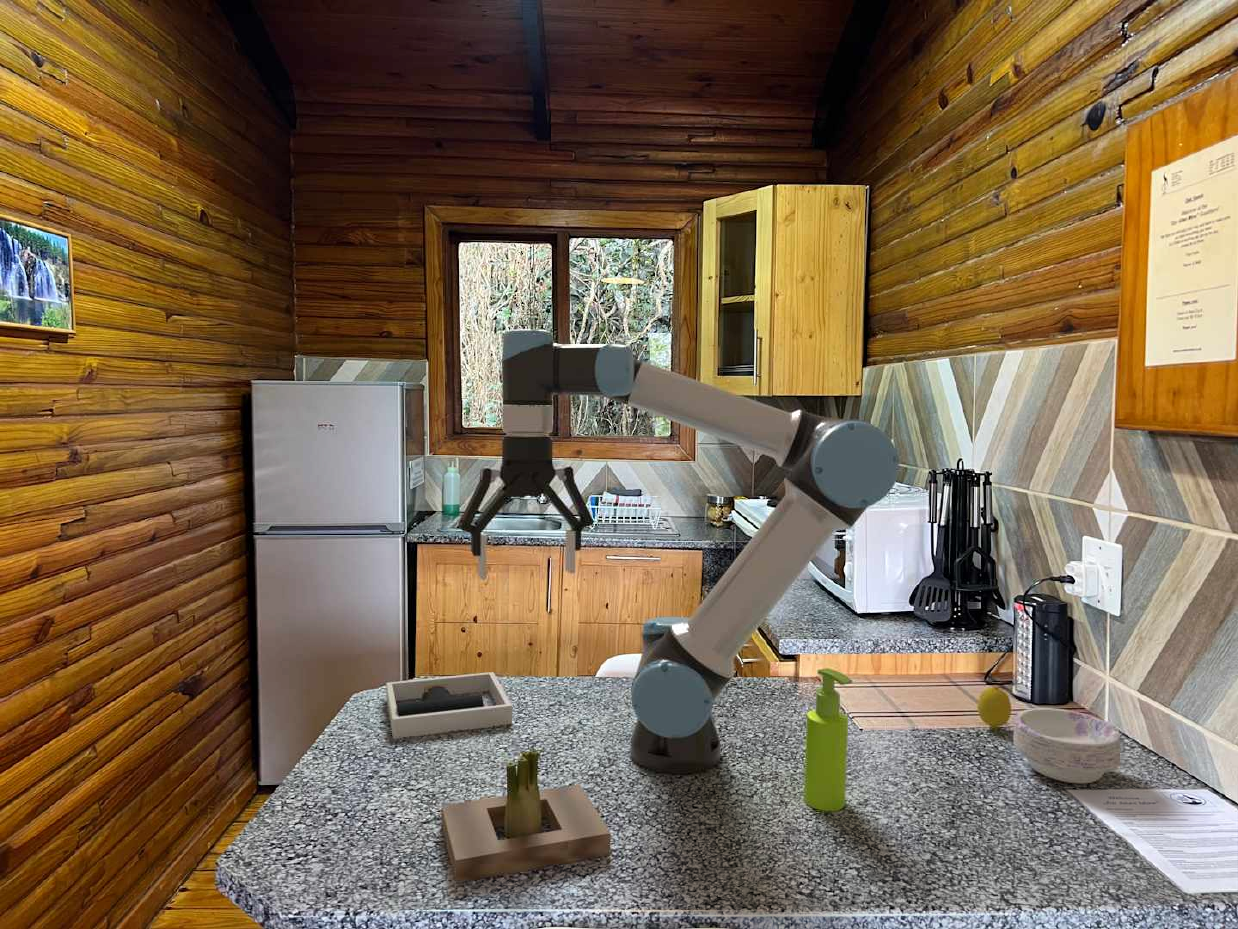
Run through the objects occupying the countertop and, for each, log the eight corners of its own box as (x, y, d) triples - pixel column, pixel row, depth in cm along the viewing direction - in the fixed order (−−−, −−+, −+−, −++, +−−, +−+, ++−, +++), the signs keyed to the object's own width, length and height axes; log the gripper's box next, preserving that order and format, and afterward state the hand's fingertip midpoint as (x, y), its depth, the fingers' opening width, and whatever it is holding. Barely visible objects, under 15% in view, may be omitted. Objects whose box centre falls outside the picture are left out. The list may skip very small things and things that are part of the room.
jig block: (579, 804, 118) (579, 784, 118) (610, 855, 105) (610, 833, 105) (441, 826, 111) (441, 805, 111) (455, 883, 98) (455, 860, 98)
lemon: (1009, 726, 149) (1011, 683, 148) (1010, 737, 144) (1012, 693, 143) (977, 720, 151) (978, 679, 150) (976, 731, 146) (978, 688, 145)
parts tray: (493, 688, 164) (493, 672, 164) (512, 724, 146) (512, 705, 146) (386, 700, 157) (386, 682, 157) (393, 739, 140) (392, 719, 139)
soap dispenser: (827, 818, 115) (832, 682, 113) (796, 797, 121) (800, 667, 119) (858, 809, 118) (863, 676, 116) (825, 788, 124) (830, 661, 122)
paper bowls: (991, 759, 135) (993, 713, 134) (1054, 745, 141) (1057, 701, 140) (1074, 801, 121) (1077, 750, 120) (1140, 783, 127) (1144, 735, 126)
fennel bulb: (508, 854, 105) (508, 766, 104) (496, 836, 109) (496, 750, 108) (549, 844, 107) (550, 757, 106) (536, 826, 112) (536, 743, 111)
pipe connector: (394, 685, 151) (474, 677, 156) (394, 713, 152) (474, 704, 157) (398, 709, 140) (484, 700, 145) (398, 738, 141) (484, 728, 146)
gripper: (598, 433, 128) (597, 564, 129) (439, 433, 119) (440, 574, 121) (614, 435, 121) (612, 574, 122) (446, 436, 112) (447, 585, 114)
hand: (527, 574), depth 122 cm, fingers open, 13 cm apart
